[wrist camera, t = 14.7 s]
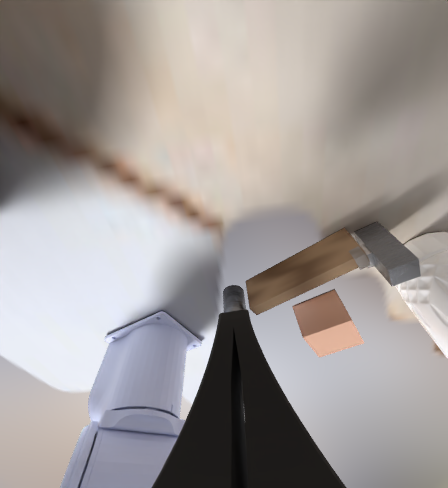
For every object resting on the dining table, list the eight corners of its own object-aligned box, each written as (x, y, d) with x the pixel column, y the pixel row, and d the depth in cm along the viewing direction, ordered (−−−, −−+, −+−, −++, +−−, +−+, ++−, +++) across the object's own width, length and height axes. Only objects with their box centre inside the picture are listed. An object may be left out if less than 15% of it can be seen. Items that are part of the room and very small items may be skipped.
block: (307, 326, 29) (319, 357, 26) (292, 305, 27) (302, 337, 23) (346, 311, 28) (364, 343, 24) (334, 288, 25) (351, 320, 22)
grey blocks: (229, 301, 25) (232, 344, 21) (219, 290, 24) (220, 332, 20) (381, 238, 21) (420, 276, 17) (377, 220, 20) (418, 257, 16)
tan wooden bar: (252, 287, 24) (257, 317, 21) (245, 280, 24) (249, 310, 21) (349, 237, 21) (372, 264, 18) (343, 227, 20) (366, 253, 17)
